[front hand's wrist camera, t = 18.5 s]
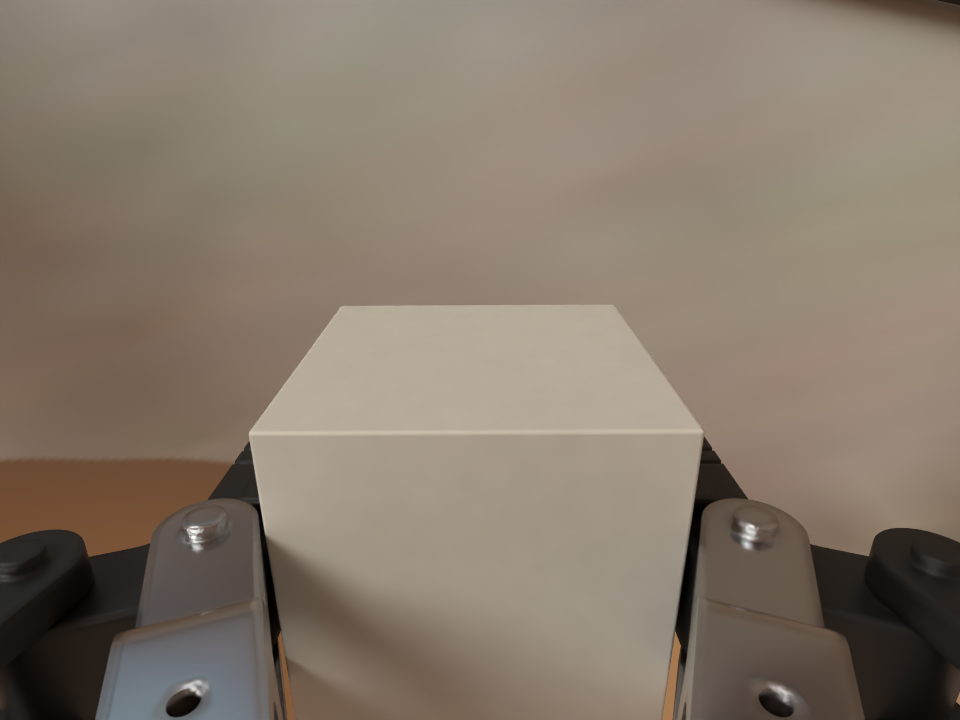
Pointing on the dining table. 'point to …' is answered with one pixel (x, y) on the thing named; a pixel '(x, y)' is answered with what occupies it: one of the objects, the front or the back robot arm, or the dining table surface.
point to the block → (477, 515)
